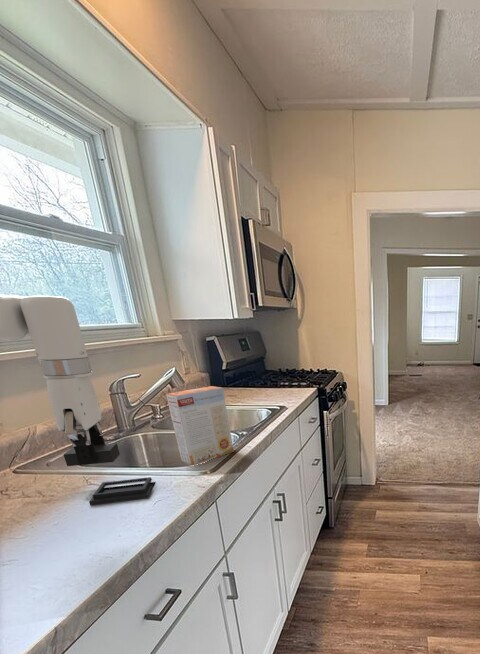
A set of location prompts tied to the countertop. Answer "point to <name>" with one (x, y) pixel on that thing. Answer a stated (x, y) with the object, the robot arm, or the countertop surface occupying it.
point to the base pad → (122, 491)
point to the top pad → (103, 453)
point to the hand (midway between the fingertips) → (93, 458)
